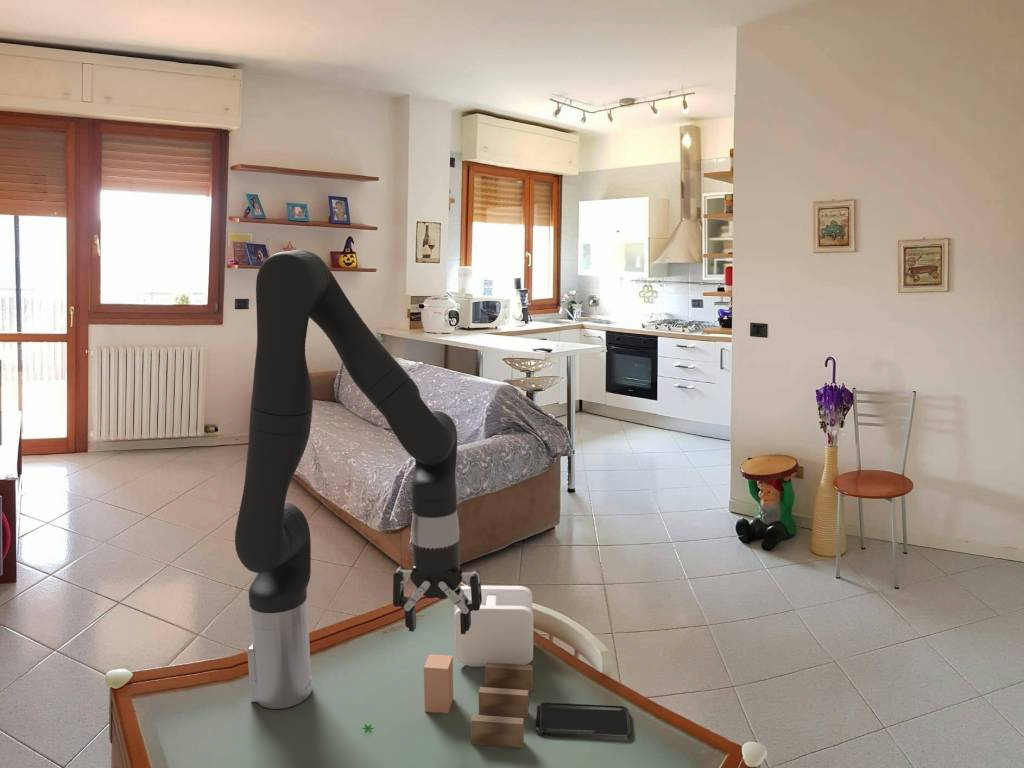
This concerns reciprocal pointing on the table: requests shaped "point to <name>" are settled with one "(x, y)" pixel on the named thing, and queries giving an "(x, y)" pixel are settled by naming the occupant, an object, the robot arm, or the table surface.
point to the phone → (583, 721)
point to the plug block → (438, 683)
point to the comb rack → (502, 705)
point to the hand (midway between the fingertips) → (438, 630)
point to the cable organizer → (497, 627)
